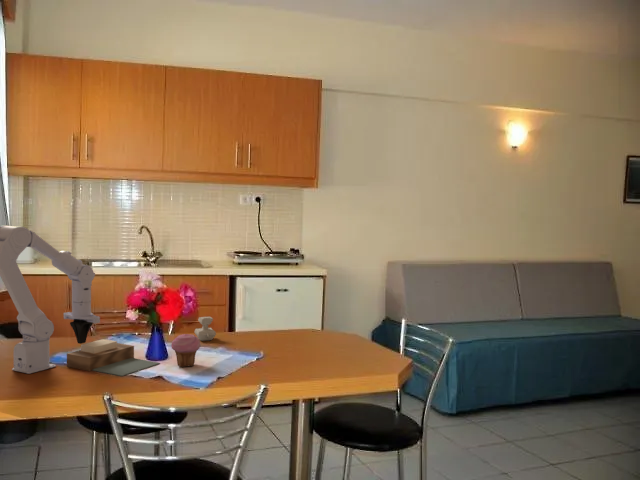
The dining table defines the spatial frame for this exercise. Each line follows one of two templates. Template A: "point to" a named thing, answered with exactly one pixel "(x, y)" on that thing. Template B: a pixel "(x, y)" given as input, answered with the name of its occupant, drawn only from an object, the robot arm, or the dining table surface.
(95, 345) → the beige flat block
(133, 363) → the mat
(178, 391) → the dining table surface
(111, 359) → the panel
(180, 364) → the cupcake
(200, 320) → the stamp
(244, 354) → the dining table surface
